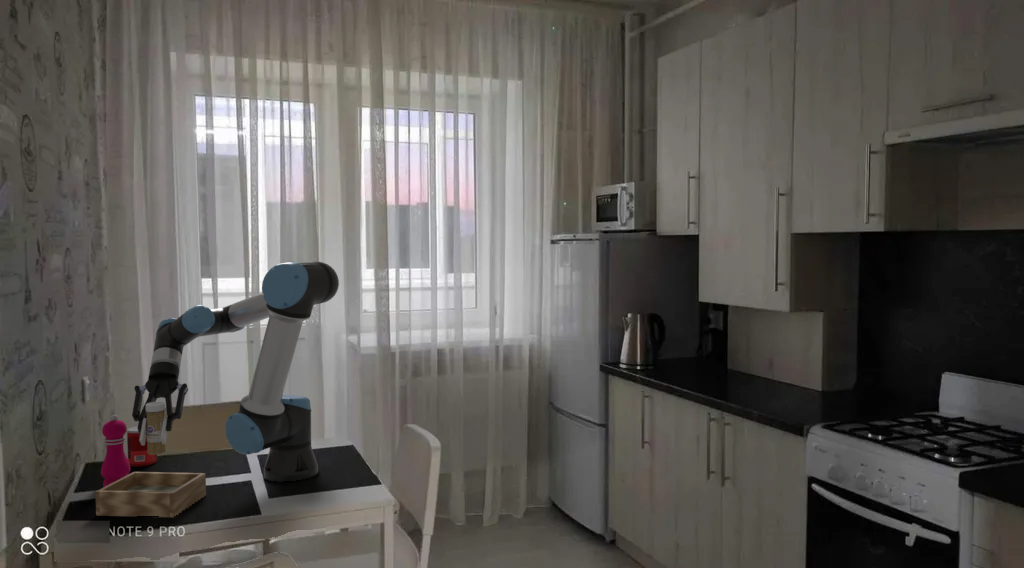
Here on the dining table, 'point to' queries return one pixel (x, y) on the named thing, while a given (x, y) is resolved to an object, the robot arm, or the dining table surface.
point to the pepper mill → (114, 451)
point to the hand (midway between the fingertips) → (152, 441)
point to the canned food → (138, 449)
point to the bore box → (151, 494)
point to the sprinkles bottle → (155, 427)
